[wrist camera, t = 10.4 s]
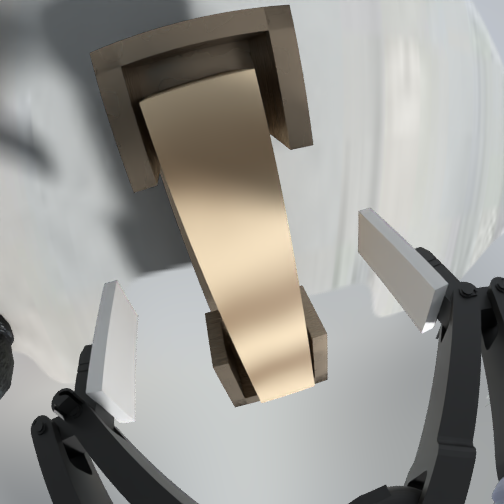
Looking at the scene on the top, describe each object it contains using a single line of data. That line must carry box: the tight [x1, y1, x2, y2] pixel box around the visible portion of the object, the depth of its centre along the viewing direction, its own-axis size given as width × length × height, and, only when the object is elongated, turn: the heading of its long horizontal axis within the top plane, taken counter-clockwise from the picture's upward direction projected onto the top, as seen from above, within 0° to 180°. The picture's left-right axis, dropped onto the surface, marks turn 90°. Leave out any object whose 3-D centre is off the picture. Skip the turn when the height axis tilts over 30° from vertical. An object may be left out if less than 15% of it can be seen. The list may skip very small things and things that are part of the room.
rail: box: [139, 69, 315, 403], centre depth 17 cm, size 20×4×5 cm, turn 13°
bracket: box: [90, 5, 327, 407], centre depth 20 cm, size 25×8×10 cm, turn 11°
